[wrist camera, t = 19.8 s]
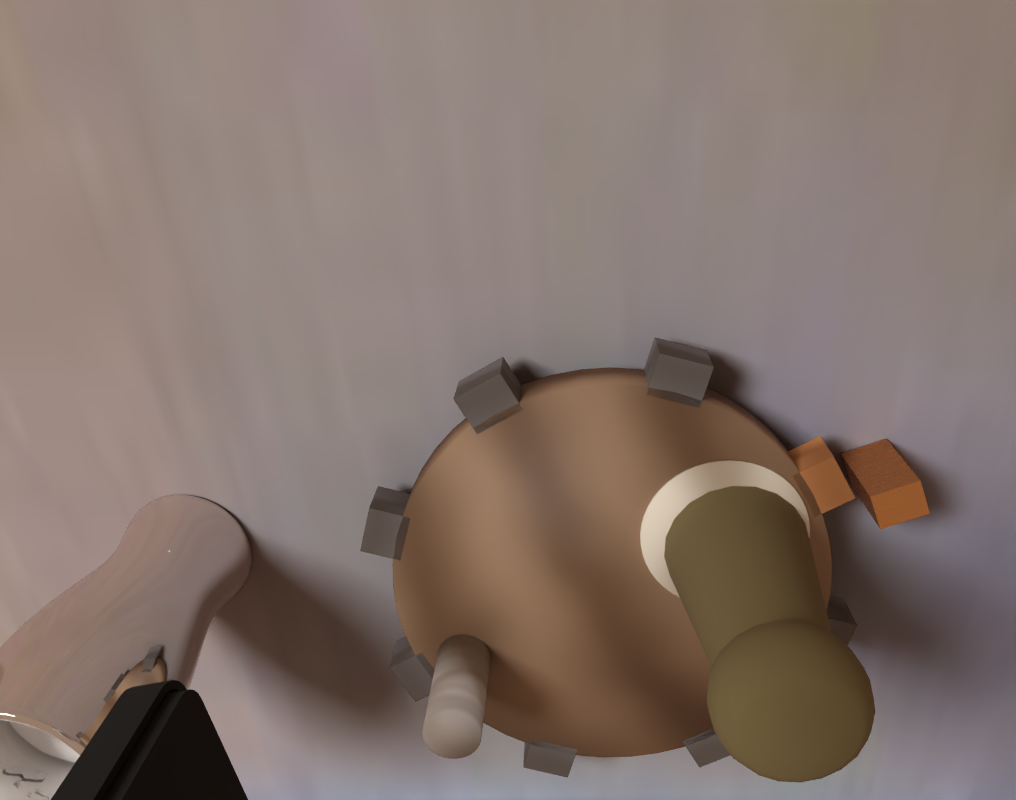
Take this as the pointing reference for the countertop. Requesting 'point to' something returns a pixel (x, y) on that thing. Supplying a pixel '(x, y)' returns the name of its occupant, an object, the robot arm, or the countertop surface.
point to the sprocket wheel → (577, 557)
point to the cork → (767, 636)
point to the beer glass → (114, 637)
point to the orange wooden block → (885, 484)
